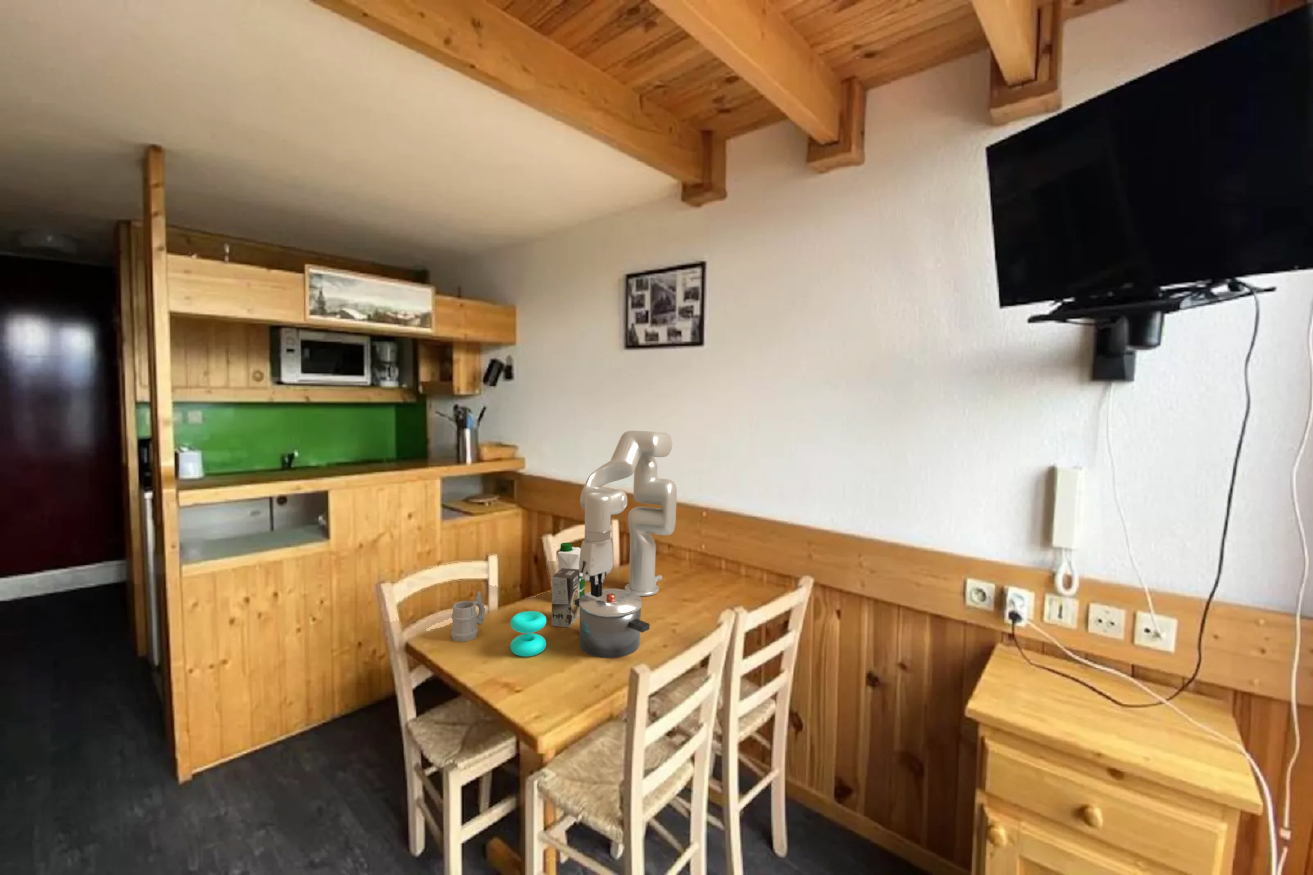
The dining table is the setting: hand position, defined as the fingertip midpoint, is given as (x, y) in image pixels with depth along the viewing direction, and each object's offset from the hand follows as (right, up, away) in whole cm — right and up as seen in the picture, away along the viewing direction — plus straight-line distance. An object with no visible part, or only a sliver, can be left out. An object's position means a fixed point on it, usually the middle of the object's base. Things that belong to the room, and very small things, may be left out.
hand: (596, 595), depth 166 cm
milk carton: (-12, -11, +32) cm, 36 cm away
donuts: (-19, -14, -5) cm, 24 cm away
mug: (-39, -13, +4) cm, 41 cm away
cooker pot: (+4, -14, 0) cm, 15 cm away
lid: (+4, -2, -1) cm, 5 cm away
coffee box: (-12, -13, +15) cm, 22 cm away
